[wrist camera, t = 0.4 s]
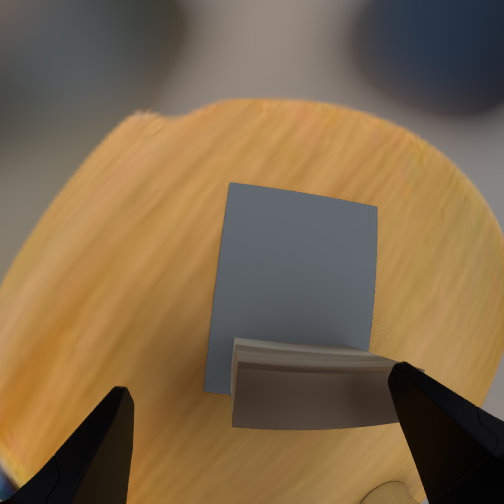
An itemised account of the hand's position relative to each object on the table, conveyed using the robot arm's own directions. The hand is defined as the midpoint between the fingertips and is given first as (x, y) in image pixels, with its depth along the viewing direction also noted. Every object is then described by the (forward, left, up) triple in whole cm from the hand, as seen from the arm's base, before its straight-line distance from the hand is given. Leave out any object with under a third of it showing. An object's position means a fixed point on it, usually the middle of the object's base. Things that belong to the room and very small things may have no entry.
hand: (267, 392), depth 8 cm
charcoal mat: (0, -6, -15) cm, 16 cm away
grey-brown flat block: (-4, -2, -15) cm, 16 cm away
